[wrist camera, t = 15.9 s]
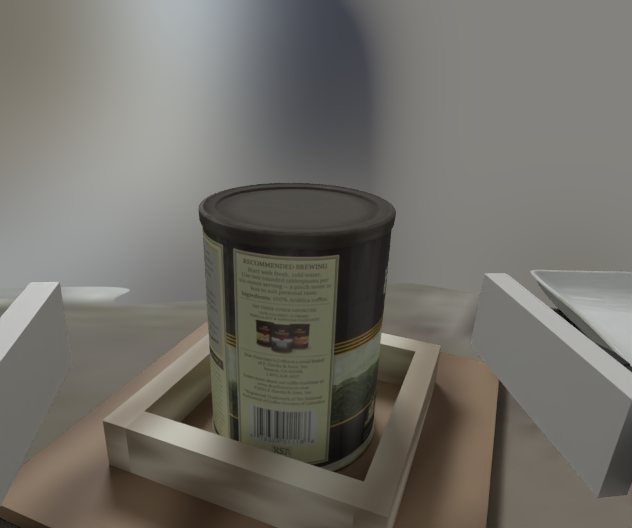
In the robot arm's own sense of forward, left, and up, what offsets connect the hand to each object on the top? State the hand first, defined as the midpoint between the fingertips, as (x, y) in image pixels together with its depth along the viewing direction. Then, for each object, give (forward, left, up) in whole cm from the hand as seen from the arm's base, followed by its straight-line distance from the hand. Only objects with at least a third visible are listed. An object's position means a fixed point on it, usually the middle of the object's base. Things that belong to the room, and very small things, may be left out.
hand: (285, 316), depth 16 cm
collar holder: (-4, +11, -15) cm, 19 cm away
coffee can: (-4, +11, -14) cm, 18 cm away
